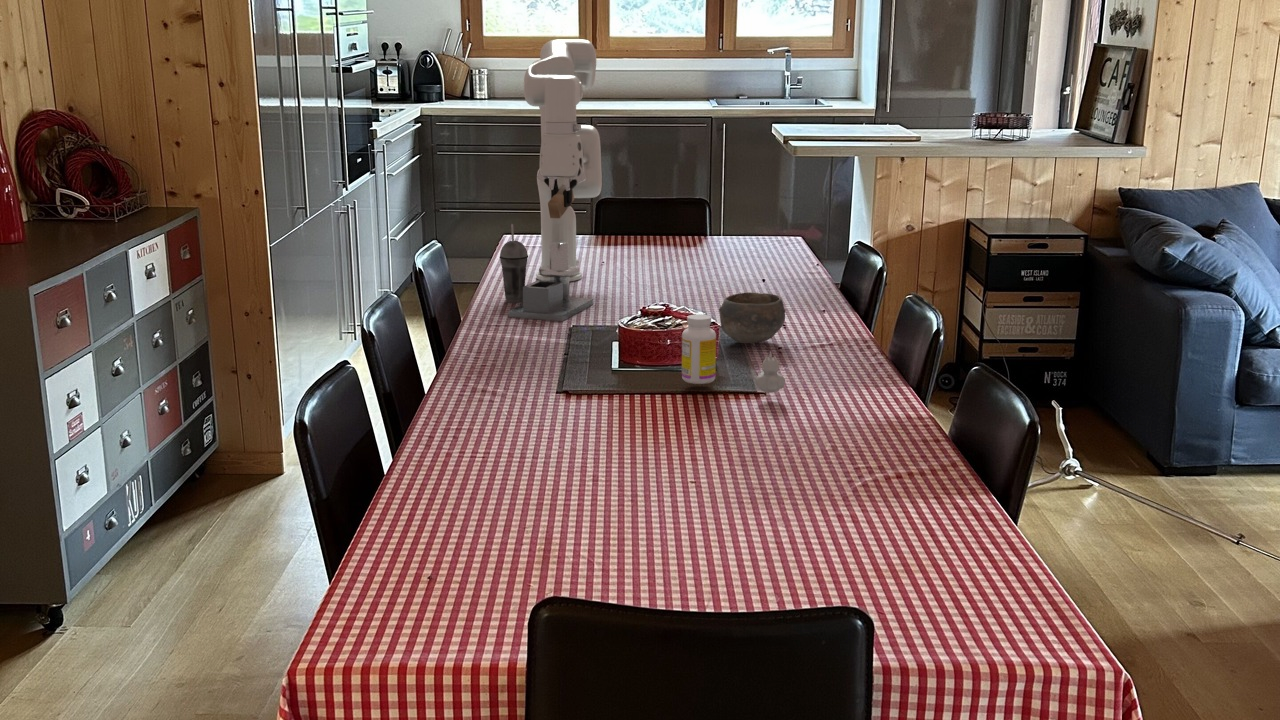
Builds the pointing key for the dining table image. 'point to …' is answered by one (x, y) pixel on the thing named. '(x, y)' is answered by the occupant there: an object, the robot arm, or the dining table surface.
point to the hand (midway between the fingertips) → (561, 205)
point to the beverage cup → (513, 269)
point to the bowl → (752, 316)
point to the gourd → (770, 376)
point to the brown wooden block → (558, 204)
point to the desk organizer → (552, 290)
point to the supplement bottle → (698, 350)
